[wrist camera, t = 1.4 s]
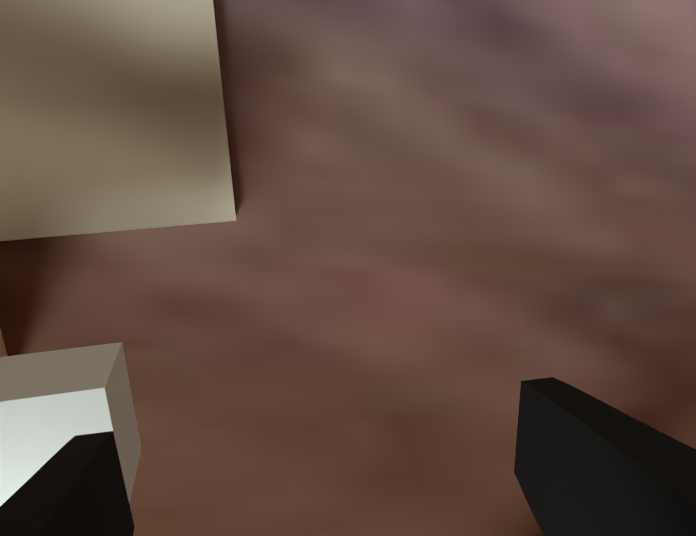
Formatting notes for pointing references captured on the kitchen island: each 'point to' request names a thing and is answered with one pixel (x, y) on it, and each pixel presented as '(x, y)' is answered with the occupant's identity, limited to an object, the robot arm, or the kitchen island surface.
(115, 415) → the white long bar
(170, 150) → the pad
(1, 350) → the tan rectangular block
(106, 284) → the kitchen island surface
